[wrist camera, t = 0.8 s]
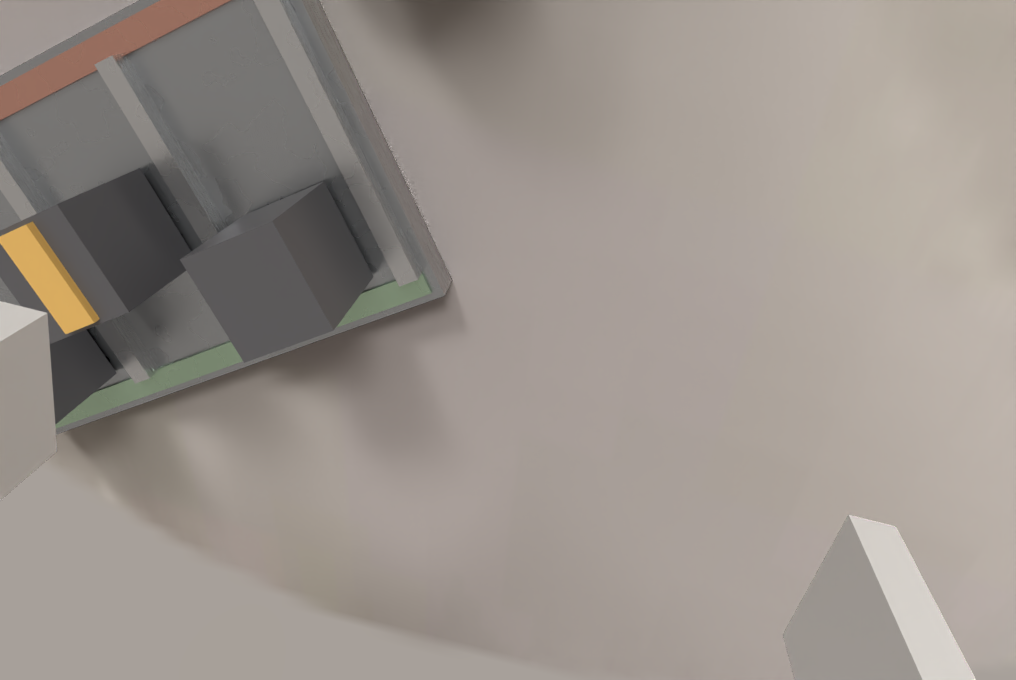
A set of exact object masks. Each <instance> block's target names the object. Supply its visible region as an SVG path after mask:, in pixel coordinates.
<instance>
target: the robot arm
mask: <svg viewBox="0 0 1016 680" xmlns="http://www.w3.org/2000/svg"><path fill="white" fill-rule="evenodd" d="M56 452H57V441H56V427H55V413H54V399H53V385H52V371H51V357H50V343H49V329H48V315H47V313H46V312H42V311H38V310H34V309H30V308H26V307H22V306H18V305H14V304H10V303H6V302H2V301H1V302H0V500H2V499H3V498H4V497H5V496H6V495H8V494H9V493H10V492H11V491H12V490H13V489H14V488H16V487H17V486H18V485H19V484H20V483H21V482H22V481H24V480H25V479H26V478H27V477H28V476H29V475H30V474H32V473H33V472H34V471H35V470H36V469H37V468H39V467H40V466H41V465H42V464H43V463H44V462H45V461H47V460H48V459H49V458H50V457H51V456H52V455H53V454H55V453H56ZM783 638H784V642H785V645H786V649H787V653H788V657H789V660H790V664H791V668H792V672H793V675H794V679H795V680H976V679H975V677H974V675H973V673H972V671H971V669H970V667H969V665H968V664H967V662H966V660H965V658H964V656H963V654H962V652H961V650H960V648H959V646H958V644H957V642H956V641H955V639H954V637H953V635H952V633H951V631H950V629H949V627H948V625H947V623H946V621H945V620H944V618H943V616H942V614H941V612H940V610H939V608H938V606H937V604H936V602H935V600H934V598H933V597H932V595H931V593H930V591H929V589H928V587H927V585H926V583H925V581H924V579H923V577H922V576H921V574H920V572H919V570H918V568H917V566H916V564H915V562H914V560H913V558H912V556H911V554H910V553H909V551H908V549H907V547H906V545H905V543H904V541H903V539H902V537H901V535H900V533H899V532H898V530H897V528H896V526H893V525H889V524H885V523H881V522H877V521H873V520H869V519H865V518H861V517H857V516H853V515H848V516H847V518H846V520H845V522H844V524H843V526H842V527H841V529H840V531H839V533H838V535H837V536H836V538H835V540H834V542H833V544H832V546H831V547H830V549H829V551H828V553H827V555H826V557H825V558H824V560H823V562H822V564H821V566H820V567H819V569H818V571H817V573H816V575H815V577H814V578H813V580H812V582H811V584H810V586H809V588H808V589H807V591H806V593H805V595H804V597H803V598H802V600H801V602H800V604H799V606H798V608H797V609H796V611H795V613H794V615H793V617H792V619H791V620H790V622H789V624H788V626H787V628H786V629H785V631H784V633H783Z"/></svg>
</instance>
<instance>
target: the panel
mask: <svg viewBox="0 0 1016 680" xmlns="http://www.w3.org/2000/svg"><path fill="white" fill-rule="evenodd" d="M138 168H140V169H141V170H142V172H143V174H144V175H145V177H146V179H147V180H148V182H149V183H150V185H151V187H152V188H153V190H154V192H155V193H156V195H157V197H158V198H159V200H160V201H161V203H162V205H163V206H164V208H165V210H166V211H167V213H168V214H169V216H170V218H171V219H172V221H173V223H174V224H175V226H176V227H177V229H178V231H179V232H180V234H181V236H182V237H183V239H184V240H185V242H186V244H187V245H188V247H189V249H190V250H191V251H193V250H194V249H196V248H197V247H199V246H200V245H201V244H203V243H204V242H206V241H207V240H209V239H210V238H212V237H213V236H214V235H216V234H217V233H219V232H220V231H222V230H223V229H225V228H226V227H227V226H229V225H230V224H232V223H233V222H235V221H236V220H237V219H239V218H240V217H242V216H243V215H246V214H248V213H250V212H253V211H255V210H257V209H260V208H262V207H264V206H267V205H269V204H271V203H274V202H276V201H279V200H281V199H283V198H286V197H288V196H290V195H293V194H295V193H297V192H300V191H302V190H305V189H307V188H309V187H312V186H314V185H316V184H319V183H321V182H323V181H324V182H325V184H326V186H327V188H328V190H329V192H330V194H331V196H332V198H333V200H334V201H335V203H336V205H337V207H338V209H339V211H340V213H341V215H342V217H343V219H344V221H345V223H346V225H347V226H348V228H349V230H350V232H351V234H352V236H353V238H354V240H355V242H356V244H357V246H358V248H359V250H360V251H361V253H362V255H363V257H364V259H365V261H366V263H367V265H368V267H369V269H370V271H371V273H372V275H373V276H374V277H373V278H372V280H371V281H370V282H369V284H368V285H367V286H366V288H365V289H364V291H363V292H362V293H361V295H360V296H359V297H358V299H357V300H356V301H355V303H354V304H353V305H352V307H351V308H350V309H349V311H348V312H347V313H346V315H345V316H344V317H343V319H342V320H341V322H340V323H339V324H338V326H337V327H336V328H335V330H334V331H331V332H329V333H326V334H323V335H320V336H317V337H315V338H312V339H309V340H306V341H304V342H301V343H298V344H295V345H292V346H290V347H287V348H284V349H281V350H278V351H276V352H273V353H270V354H267V355H265V356H262V357H259V358H256V359H253V360H251V361H248V362H245V363H244V362H243V360H242V359H241V357H240V355H239V354H238V352H237V351H236V349H235V347H234V346H233V344H232V343H231V341H230V339H229V338H228V336H227V335H226V333H225V331H224V330H223V328H222V327H221V325H220V323H219V322H218V320H217V319H216V317H215V315H214V314H213V312H212V311H211V309H210V307H209V306H208V304H207V303H206V301H205V299H204V298H203V296H202V295H201V293H200V291H199V290H198V288H197V287H196V285H195V283H194V282H193V280H192V278H191V277H190V275H189V274H188V272H187V270H186V271H185V272H184V273H182V274H181V275H180V276H178V277H177V278H175V279H174V280H173V281H171V282H170V283H169V284H167V285H166V286H165V287H163V288H162V289H160V290H159V291H158V292H156V293H155V294H154V295H152V296H151V297H149V298H148V299H147V300H145V301H144V302H143V303H141V304H140V305H139V306H137V307H136V308H134V309H133V310H132V311H130V312H129V313H126V314H124V315H121V316H119V317H116V318H114V319H111V320H109V321H106V322H104V323H101V324H99V325H96V326H94V327H91V328H89V329H86V330H87V331H88V333H89V334H90V336H91V337H92V338H93V340H94V341H95V343H96V344H97V346H98V347H99V348H100V350H101V351H102V353H103V354H104V356H105V357H106V358H107V360H108V361H109V363H110V364H111V365H112V367H113V368H114V370H115V371H116V373H117V374H115V375H114V376H113V377H112V378H111V379H109V380H108V381H107V382H106V383H105V384H103V385H102V386H101V387H100V388H99V389H98V390H96V391H95V392H94V393H93V394H92V395H90V396H89V397H88V398H87V399H86V400H84V401H83V402H82V403H81V404H80V405H78V406H77V407H76V408H75V409H74V410H72V411H71V412H70V413H69V414H68V415H66V416H65V417H64V418H63V419H62V420H60V421H59V422H58V423H57V424H56V425H55V427H56V434H59V433H62V432H65V431H67V430H70V429H73V428H76V427H79V426H81V425H84V424H87V423H90V422H93V421H95V420H98V419H101V418H104V417H107V416H109V415H112V414H115V413H118V412H121V411H123V410H126V409H129V408H132V407H135V406H137V405H140V404H143V403H146V402H149V401H151V400H154V399H157V398H160V397H163V396H165V395H168V394H171V393H174V392H177V391H179V390H182V389H185V388H188V387H191V386H193V385H196V384H199V383H202V382H205V381H207V380H210V379H213V378H216V377H219V376H221V375H224V374H227V373H230V372H233V371H235V370H238V369H241V368H244V367H247V366H249V365H252V364H255V363H258V362H261V361H263V360H266V359H269V358H272V357H275V356H277V355H280V354H283V353H286V352H289V351H291V350H294V349H297V348H300V347H303V346H305V345H308V344H311V343H314V342H317V341H319V340H322V339H325V338H328V337H331V336H333V335H336V334H339V333H342V332H344V331H347V330H350V329H353V328H356V327H358V326H361V325H364V324H367V323H370V322H372V321H375V320H378V319H381V318H384V317H386V316H389V315H392V314H395V313H398V312H400V311H403V310H406V309H409V308H412V307H414V306H417V305H420V304H423V303H426V302H428V301H431V300H434V299H437V298H440V297H442V296H445V294H446V292H447V290H448V288H449V286H450V284H451V282H452V279H451V277H450V275H449V272H448V270H447V268H446V266H445V264H444V262H443V260H442V258H441V256H440V254H439V251H438V249H437V247H436V245H435V243H434V241H433V239H432V237H431V235H430V233H429V230H428V228H427V226H426V224H425V222H424V220H423V218H422V216H421V214H420V212H419V210H418V207H417V205H416V203H415V201H414V199H413V197H412V195H411V193H410V191H409V189H408V186H407V184H406V182H405V180H404V178H403V176H402V174H401V172H400V170H399V168H398V165H397V163H396V161H395V159H394V157H393V155H392V153H391V151H390V149H389V147H388V144H387V142H386V140H385V138H384V136H383V134H382V132H381V130H380V128H379V126H378V124H377V121H376V119H375V117H374V115H373V113H372V111H371V109H370V107H369V105H368V103H367V100H366V98H365V96H364V94H363V92H362V90H361V88H360V86H359V84H358V82H357V79H356V77H355V75H354V73H353V71H352V69H351V67H350V65H349V63H348V61H347V58H346V56H345V54H344V52H343V50H342V48H341V46H340V44H339V42H338V40H337V38H336V35H335V33H334V31H333V29H332V27H331V25H330V23H329V21H328V19H327V17H326V14H325V12H324V10H323V8H322V6H321V4H320V2H319V0H139V1H137V2H135V3H134V4H132V5H130V6H128V7H126V8H124V9H122V10H121V11H119V12H117V13H115V14H113V15H111V16H110V17H108V18H106V19H104V20H102V21H100V22H99V23H97V24H95V25H93V26H91V27H89V28H87V29H86V30H84V31H82V32H80V33H78V34H76V35H75V36H73V37H71V38H69V39H67V40H65V41H64V42H62V43H60V44H58V45H56V46H54V47H52V48H51V49H49V50H47V51H45V52H43V53H41V54H40V55H38V56H36V57H34V58H32V59H30V60H29V61H27V62H25V63H23V64H21V65H19V66H17V67H16V68H14V69H12V70H10V71H8V72H6V73H5V74H3V75H1V76H0V231H1V230H3V229H5V228H7V227H9V226H11V225H13V224H15V223H18V222H20V221H22V220H24V219H26V218H28V217H30V216H33V215H35V214H37V213H39V212H41V211H43V210H45V209H48V208H50V207H52V206H54V205H56V204H58V203H61V202H63V201H65V200H68V199H70V198H72V197H74V196H77V195H79V194H81V193H84V192H86V191H88V190H90V189H93V188H95V187H97V186H100V185H102V184H104V183H106V182H109V181H111V180H113V179H116V178H118V177H120V176H122V175H125V174H127V173H129V172H132V171H134V170H136V169H138ZM1 301H2V302H6V303H10V304H14V305H18V306H21V305H20V304H19V302H18V301H17V300H16V298H15V297H14V296H13V294H12V293H11V291H10V290H9V289H8V287H7V286H6V285H5V283H4V282H3V281H2V279H1V278H0V302H1Z"/></svg>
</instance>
